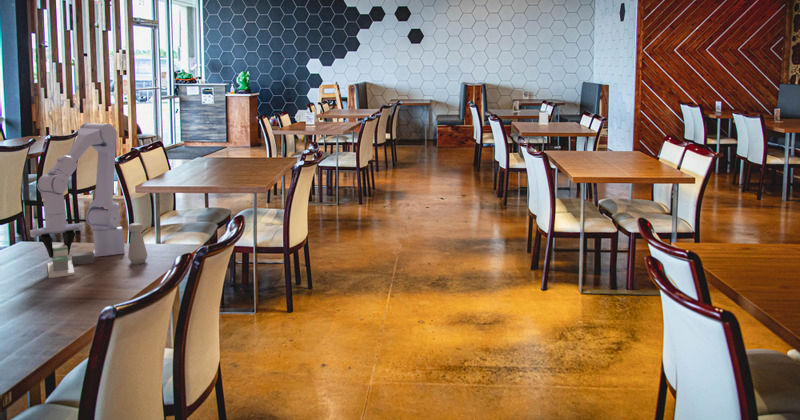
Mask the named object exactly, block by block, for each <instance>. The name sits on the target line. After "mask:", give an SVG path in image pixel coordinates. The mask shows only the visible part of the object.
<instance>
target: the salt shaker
mask: <svg viewBox="0 0 800 420" xmlns="http://www.w3.org/2000/svg"><path fill="white" fill-rule="evenodd" d="M143 228H144V227H143V224H142V223H139V222H133V223H130V224H129V225H128V228H127V229H128V232H130V238H129V246H128V255H127V256H128V259H129V261H130V264H131V265H142V264H145V263H146V260H147V259H148V251H147V248H146V245H145V241H144V237H143V233H142V231H143Z"/></svg>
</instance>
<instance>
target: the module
mask: <svg viewBox="0 0 800 420" xmlns="http://www.w3.org/2000/svg"><path fill="white" fill-rule="evenodd" d="M52 248H53V257H59V256H67V258H68V262H69V255H68V247H67V246H66V245H65V244H64V243H58V244H52ZM51 262H53V260H52V258H50V263H51Z"/></svg>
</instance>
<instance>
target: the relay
mask: <svg viewBox="0 0 800 420" xmlns="http://www.w3.org/2000/svg"><path fill="white" fill-rule="evenodd" d="M71 260H72V264H73V266H74V265H82V264H83V265H84V264H85V265H86V264H93V263H94V254H93V251H85V252H84V251H83V252H73V253H71Z"/></svg>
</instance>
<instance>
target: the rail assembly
mask: <svg viewBox="0 0 800 420" xmlns="http://www.w3.org/2000/svg"><path fill="white" fill-rule="evenodd" d="M68 258H69V257H68ZM68 258H67V256H59V257H52V260H53V262H51V261H50V262H47V270H48V278H49V279H53V278H60V277H68V276H75V269H74V265H73V264H72V259H70V260H69V262H68Z"/></svg>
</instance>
